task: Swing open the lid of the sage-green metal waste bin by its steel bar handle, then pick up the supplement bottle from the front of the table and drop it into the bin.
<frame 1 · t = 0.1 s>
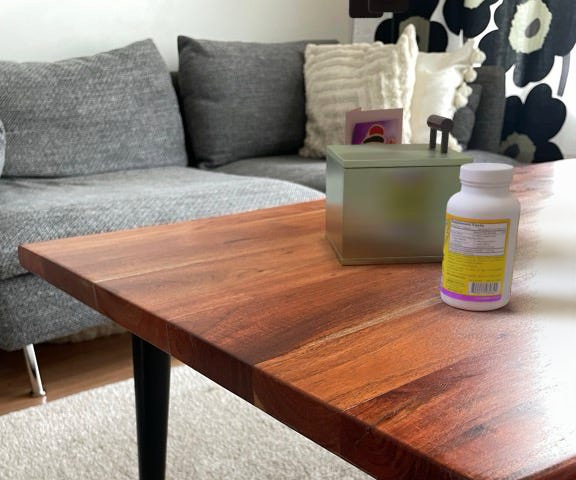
hand: (376, 15, 63), 25 cm above the table, tool pointing down, fingers open, 9 cm apart
bin lid: (395, 137, 84), point 13 cm above the table, hinge at 0.0°
purple cartoon box: (358, 216, 109), on the table
supplement bottle: (473, 303, 70), on the table
bin: (386, 248, 90), on the table
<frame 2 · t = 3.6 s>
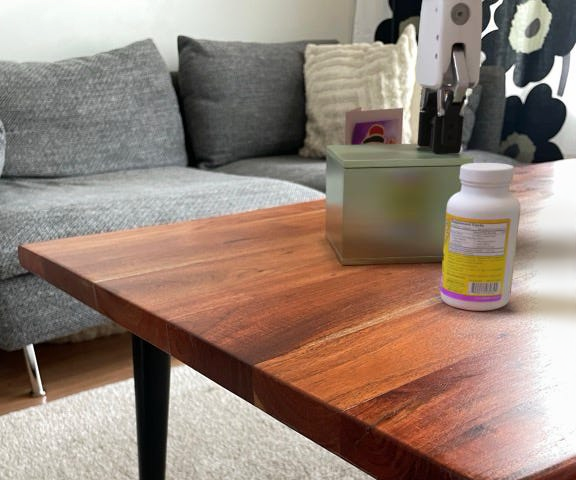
hand: (438, 148, 85), 12 cm above the table, tool pointing down, fingers closed on bin lid, 6 cm apart
bin lid: (395, 137, 84), point 13 cm above the table, hinge at 0.0°, touching gripper
everything else where it was.
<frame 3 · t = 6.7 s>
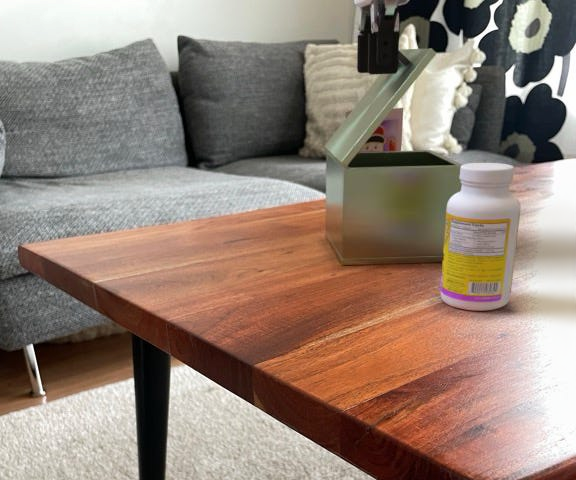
hand: (376, 71, 81), 20 cm above the table, tool pointing down, fingers closed on bin lid, 6 cm apart
bin lid: (362, 93, 82), point 18 cm above the table, hinge at 50.6°, touching gripper
everything else where it was.
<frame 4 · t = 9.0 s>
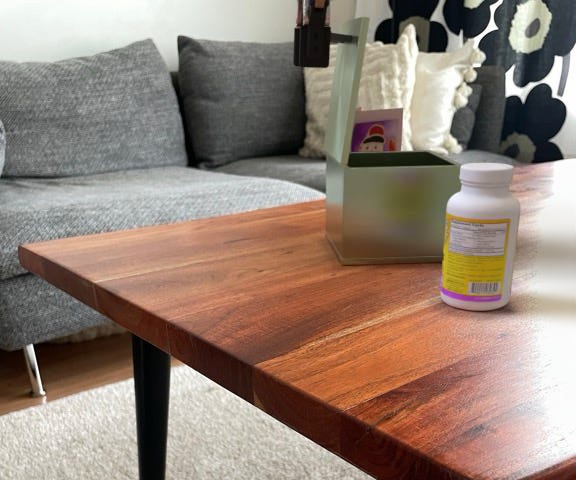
hand: (310, 65, 80), 21 cm above the table, tool pointing down, fingers closed on bin lid, 6 cm apart
bin lid: (327, 88, 82), point 19 cm above the table, hinge at 82.3°, touching gripper
everything else where it was.
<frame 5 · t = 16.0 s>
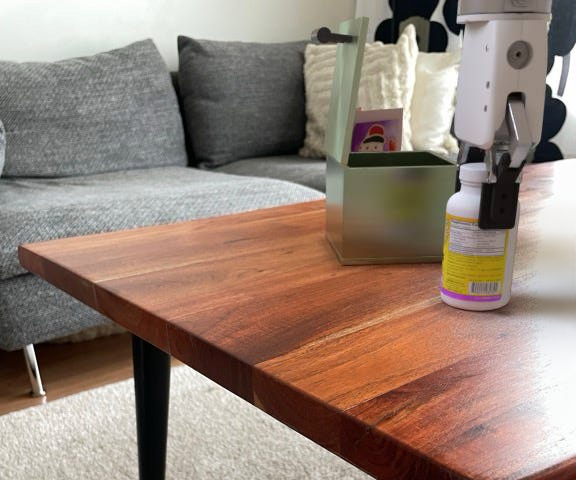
hand: (482, 218, 67), 8 cm above the table, tool pointing down, fingers closed on supplement bottle, 6 cm apart
bin lid: (327, 88, 82), point 19 cm above the table, hinge at 82.5°
supplement bottle: (473, 303, 70), on the table, touching gripper
everything else where it was.
when the fingers open (9 cm above the table, at t = 24.3 s): supplement bottle stays where it is, resting on bin.
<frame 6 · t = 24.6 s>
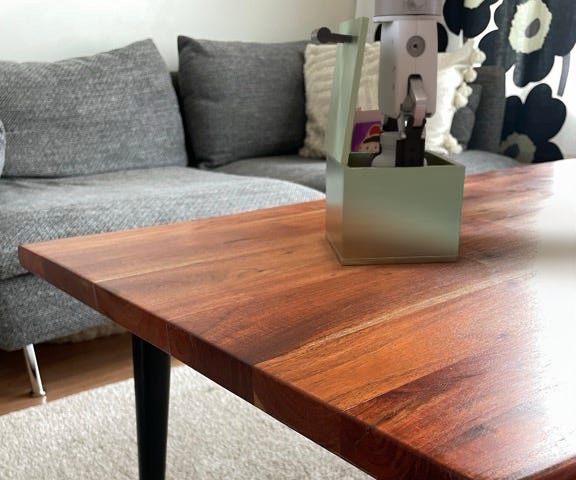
hand: (399, 170, 86), 9 cm above the table, tool pointing down, fingers open, 8 cm apart
supplement bottle: (395, 243, 90), point 1 cm above the table, touching bin
everything else where it was.
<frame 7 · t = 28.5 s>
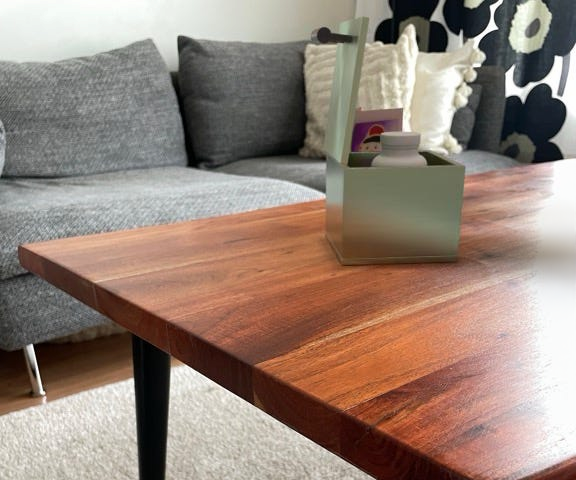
nothing on the table moved.
at the end: bin lid at +82° (first picture: +0°); supplement bottle inside the target area in the bin (1.0 cm from its centre), point 0.6 cm above the bin's base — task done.
